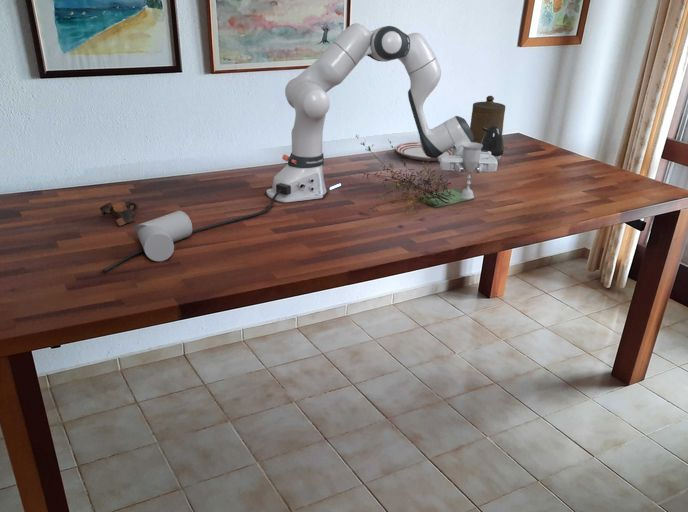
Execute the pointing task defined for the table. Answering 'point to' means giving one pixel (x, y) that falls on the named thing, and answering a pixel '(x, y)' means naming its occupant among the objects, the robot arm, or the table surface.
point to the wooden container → (486, 117)
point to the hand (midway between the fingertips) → (470, 170)
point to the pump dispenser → (493, 141)
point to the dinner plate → (417, 151)
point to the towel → (453, 192)
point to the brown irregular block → (120, 210)
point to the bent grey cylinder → (163, 234)
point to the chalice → (470, 164)
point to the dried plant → (413, 185)
